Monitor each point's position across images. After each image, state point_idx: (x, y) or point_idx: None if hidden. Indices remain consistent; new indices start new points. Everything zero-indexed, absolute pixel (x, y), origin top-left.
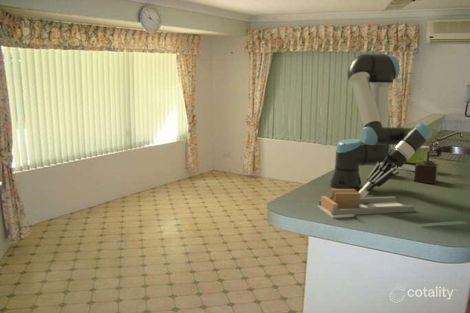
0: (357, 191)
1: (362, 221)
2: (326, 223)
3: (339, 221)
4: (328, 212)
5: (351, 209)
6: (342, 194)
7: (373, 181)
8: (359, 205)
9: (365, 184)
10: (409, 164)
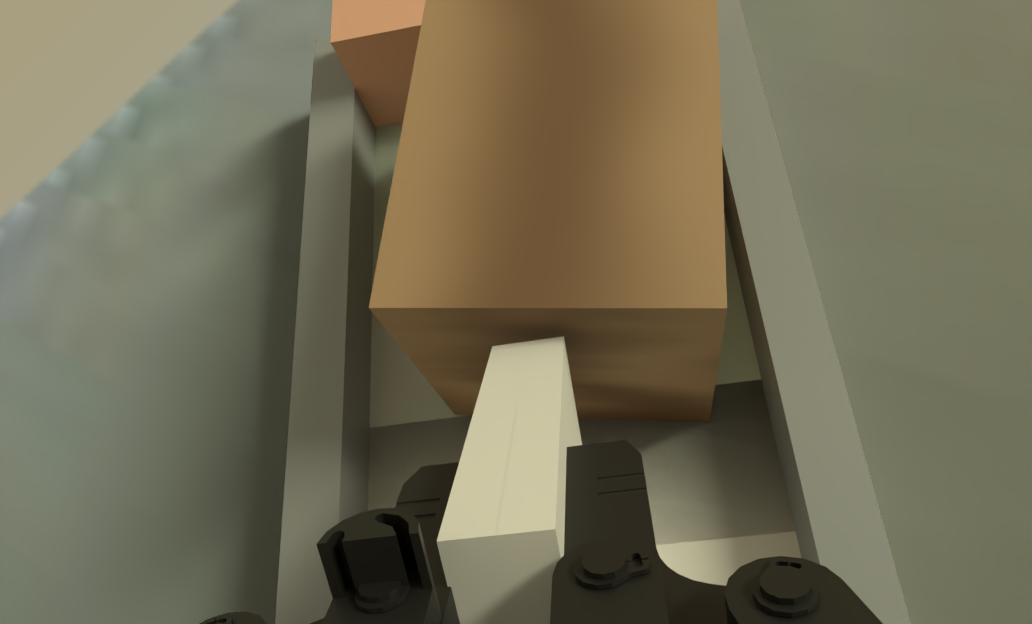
0: (525, 308)
1: (183, 351)
2: (232, 28)
3: (247, 135)
4: None
5: (302, 230)
6: (424, 47)
7: (344, 619)
8: (689, 522)
9: (637, 499)
10: None
